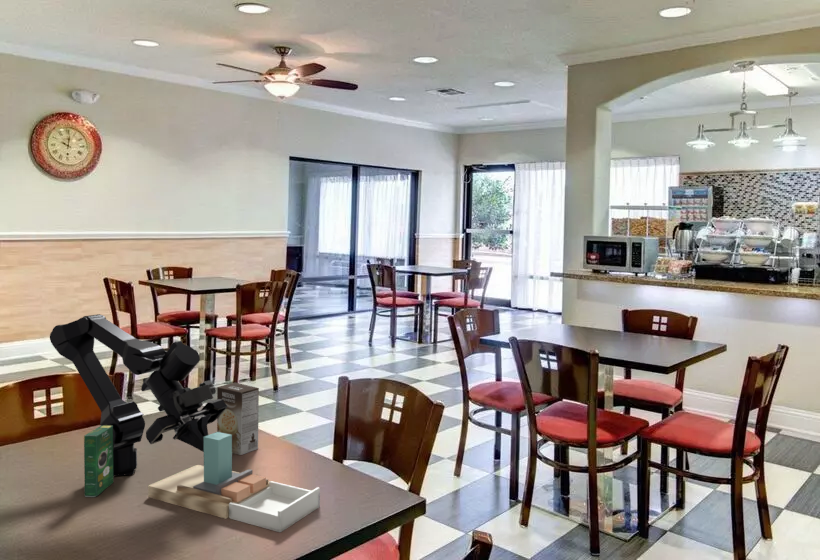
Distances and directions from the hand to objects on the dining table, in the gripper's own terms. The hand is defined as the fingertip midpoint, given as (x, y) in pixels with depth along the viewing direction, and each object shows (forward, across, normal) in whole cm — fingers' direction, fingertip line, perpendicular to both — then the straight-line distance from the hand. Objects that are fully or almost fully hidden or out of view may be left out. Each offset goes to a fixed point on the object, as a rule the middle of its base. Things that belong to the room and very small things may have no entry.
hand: (209, 452), depth 139 cm
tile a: (+11, +2, -2) cm, 12 cm away
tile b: (+11, -2, -2) cm, 12 cm away
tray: (+19, 0, -6) cm, 20 cm away
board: (+7, 0, +6) cm, 9 cm away
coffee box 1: (-9, -9, +22) cm, 26 cm away
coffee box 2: (-4, +26, +17) cm, 31 cm away
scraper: (+7, 0, +2) cm, 8 cm away
